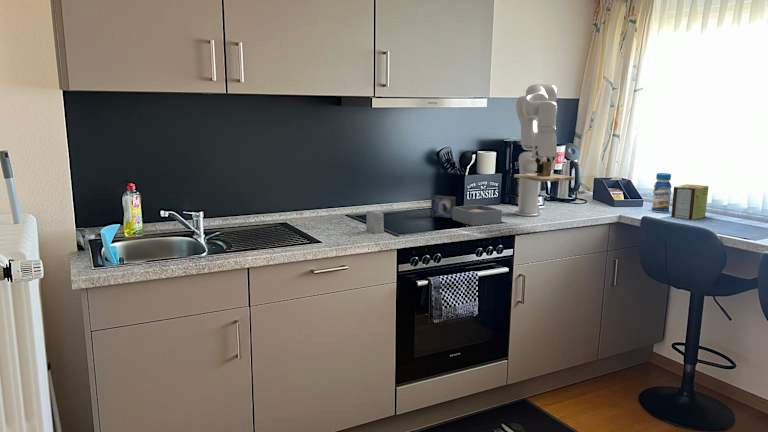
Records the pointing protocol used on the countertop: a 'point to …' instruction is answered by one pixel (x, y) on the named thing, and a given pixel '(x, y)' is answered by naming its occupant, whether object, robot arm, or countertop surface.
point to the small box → (442, 206)
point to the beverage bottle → (662, 193)
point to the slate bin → (477, 215)
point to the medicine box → (375, 222)
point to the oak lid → (544, 175)
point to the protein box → (689, 201)
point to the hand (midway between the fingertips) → (543, 172)
